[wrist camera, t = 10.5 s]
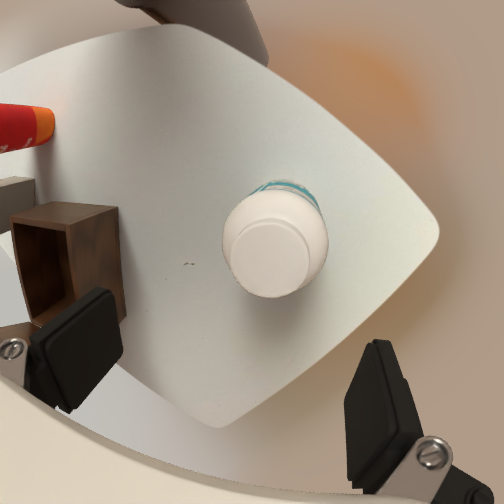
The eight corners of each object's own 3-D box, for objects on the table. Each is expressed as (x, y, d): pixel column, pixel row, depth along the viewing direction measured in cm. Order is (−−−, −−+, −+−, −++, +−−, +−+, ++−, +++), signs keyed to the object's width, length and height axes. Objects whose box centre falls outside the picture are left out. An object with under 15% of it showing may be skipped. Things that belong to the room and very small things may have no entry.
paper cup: (26, 143, 32) (-45, 154, 19) (39, 97, 29) (-34, 96, 16) (51, 158, 32) (-28, 173, 19) (66, 107, 29) (-16, 106, 16)
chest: (53, 201, 34) (9, 215, 25) (118, 206, 32) (69, 224, 24) (66, 296, 39) (31, 322, 31) (126, 316, 37) (92, 351, 29)
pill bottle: (264, 259, 31) (237, 331, 18) (235, 196, 29) (184, 229, 17) (330, 234, 29) (349, 296, 16) (303, 167, 27) (304, 177, 15)
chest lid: (-62, 338, 14) (-54, 378, 14) (-16, 392, 12) (-3, 437, 12) (29, 321, 30) (30, 353, 30) (90, 350, 29) (91, 385, 29)
